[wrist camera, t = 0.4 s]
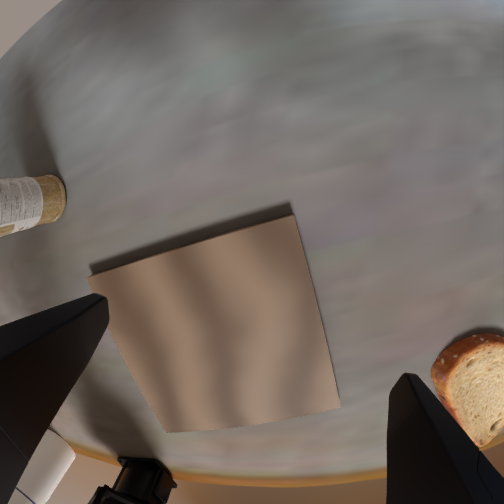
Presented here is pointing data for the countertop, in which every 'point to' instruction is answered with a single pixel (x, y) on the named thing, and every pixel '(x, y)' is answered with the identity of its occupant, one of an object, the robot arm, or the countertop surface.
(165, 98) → the countertop surface
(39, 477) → the cylindrical container
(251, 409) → the walnut board
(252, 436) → the countertop surface
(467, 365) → the slice of bread
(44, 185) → the sprinkles bottle
